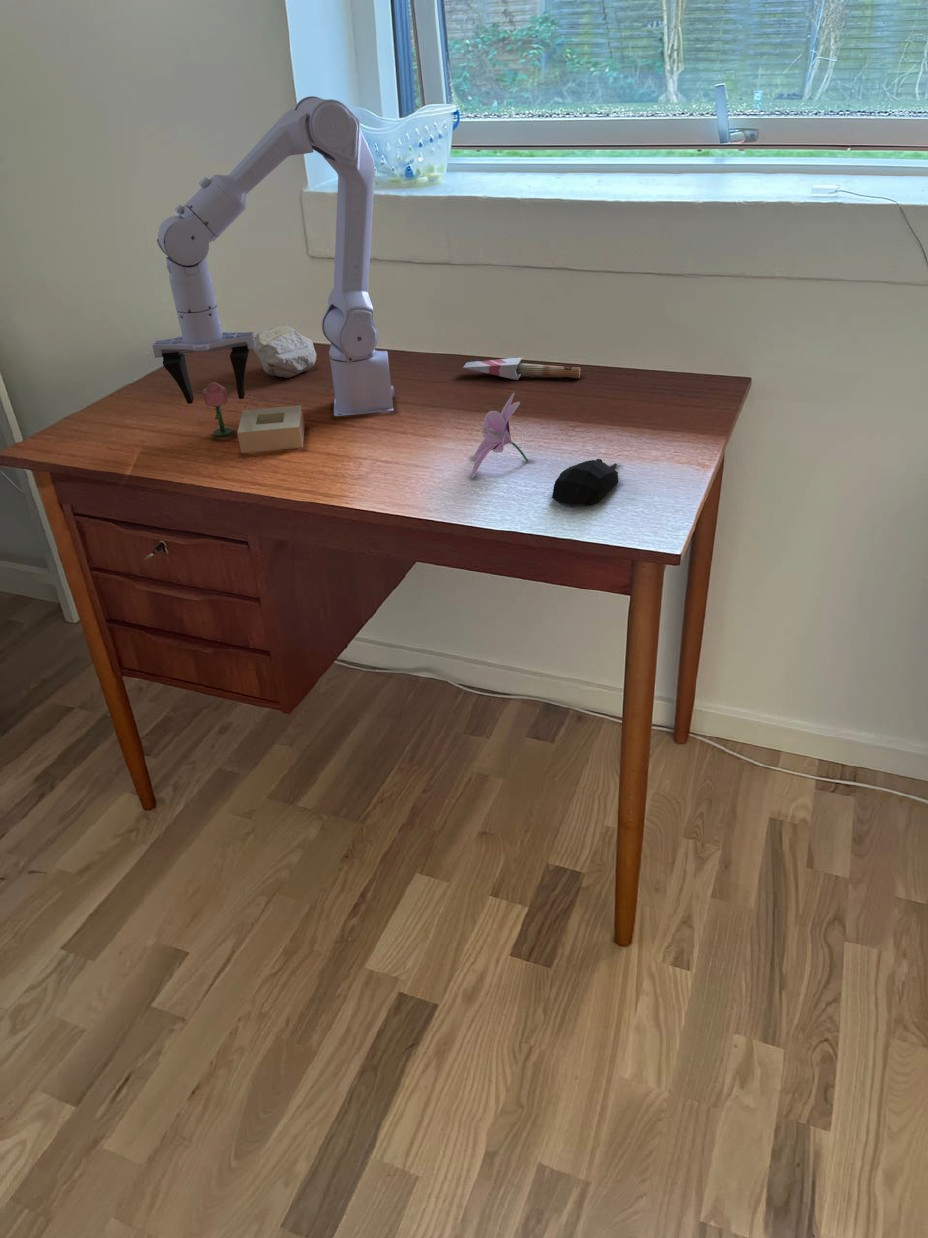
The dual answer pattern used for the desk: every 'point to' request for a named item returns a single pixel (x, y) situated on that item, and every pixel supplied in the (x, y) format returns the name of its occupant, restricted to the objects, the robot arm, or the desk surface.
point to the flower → (217, 406)
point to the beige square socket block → (271, 429)
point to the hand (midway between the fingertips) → (216, 398)
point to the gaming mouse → (585, 483)
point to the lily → (496, 433)
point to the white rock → (284, 351)
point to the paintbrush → (521, 368)
